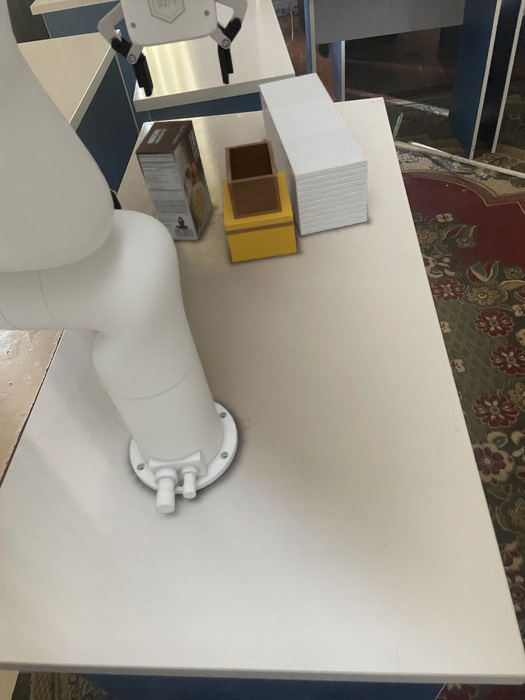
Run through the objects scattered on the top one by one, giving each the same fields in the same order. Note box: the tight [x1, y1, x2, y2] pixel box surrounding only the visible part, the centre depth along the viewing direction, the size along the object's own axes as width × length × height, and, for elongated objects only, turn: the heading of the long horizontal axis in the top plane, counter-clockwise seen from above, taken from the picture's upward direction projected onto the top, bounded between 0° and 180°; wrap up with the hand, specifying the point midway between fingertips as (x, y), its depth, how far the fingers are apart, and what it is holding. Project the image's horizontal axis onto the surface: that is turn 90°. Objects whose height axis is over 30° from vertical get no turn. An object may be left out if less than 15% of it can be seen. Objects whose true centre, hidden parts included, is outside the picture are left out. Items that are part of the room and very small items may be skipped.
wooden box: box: [224, 140, 282, 219], centre depth 84 cm, size 10×7×6 cm
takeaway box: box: [221, 171, 298, 263], centre depth 89 cm, size 12×10×7 cm
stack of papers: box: [258, 72, 368, 236], centre depth 96 cm, size 32×11×11 cm, turn 10°
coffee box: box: [134, 119, 214, 241], centre depth 90 cm, size 9×6×16 cm
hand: (188, 86), depth 70 cm, fingers open, 9 cm apart
